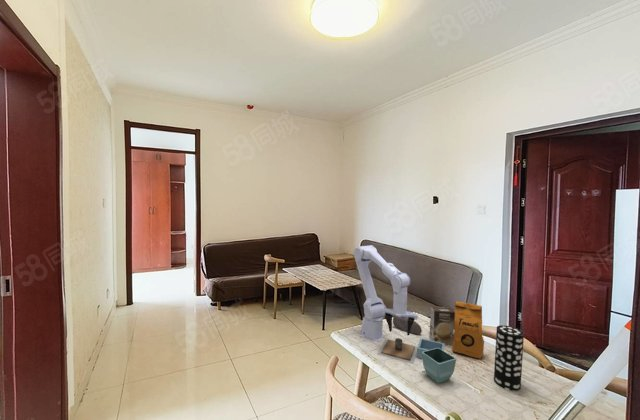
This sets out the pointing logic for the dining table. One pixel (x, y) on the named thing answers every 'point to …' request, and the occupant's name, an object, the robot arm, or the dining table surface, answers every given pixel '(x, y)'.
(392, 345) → the lid
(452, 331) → the coffee box
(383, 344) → the mat
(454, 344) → the coffee package
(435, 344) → the dish
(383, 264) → the robot arm
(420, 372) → the dining table surface
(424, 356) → the flower pot
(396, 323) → the perforated stone tool
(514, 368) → the white-spotted black cylinder
